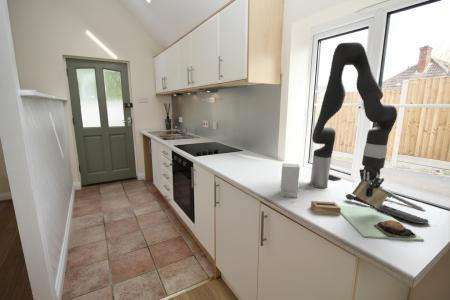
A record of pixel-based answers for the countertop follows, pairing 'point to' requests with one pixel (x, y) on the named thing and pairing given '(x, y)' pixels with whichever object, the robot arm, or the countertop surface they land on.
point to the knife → (391, 211)
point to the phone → (333, 178)
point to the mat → (370, 222)
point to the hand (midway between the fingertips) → (367, 195)
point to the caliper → (400, 199)
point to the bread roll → (394, 229)
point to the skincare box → (289, 180)
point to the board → (377, 195)
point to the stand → (325, 207)
